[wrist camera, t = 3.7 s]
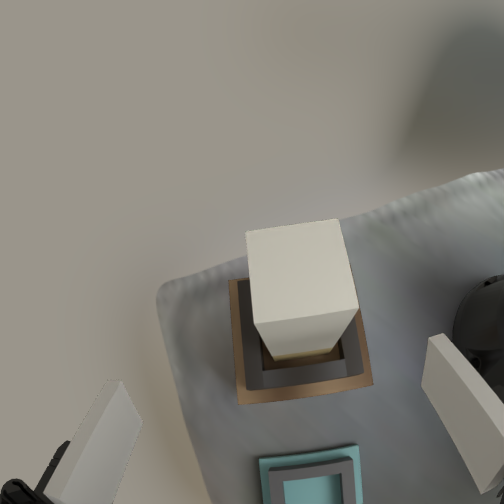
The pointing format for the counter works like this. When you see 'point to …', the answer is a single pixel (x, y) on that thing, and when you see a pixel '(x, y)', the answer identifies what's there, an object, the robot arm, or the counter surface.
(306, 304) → the plug
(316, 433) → the counter surface
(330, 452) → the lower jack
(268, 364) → the wooden planter box
